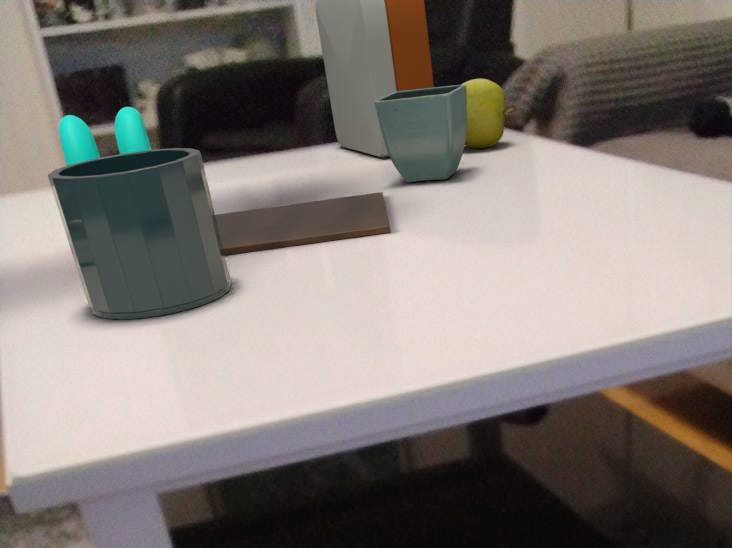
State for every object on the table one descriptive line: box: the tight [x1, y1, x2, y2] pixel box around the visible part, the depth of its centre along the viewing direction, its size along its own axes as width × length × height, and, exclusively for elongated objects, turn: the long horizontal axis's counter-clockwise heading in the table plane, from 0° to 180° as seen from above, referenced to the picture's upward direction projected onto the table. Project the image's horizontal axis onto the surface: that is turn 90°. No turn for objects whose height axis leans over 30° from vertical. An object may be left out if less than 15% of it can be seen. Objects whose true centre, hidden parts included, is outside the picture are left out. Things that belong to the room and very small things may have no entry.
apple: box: [460, 78, 515, 149], centre depth 131 cm, size 8×9×8 cm
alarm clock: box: [315, 0, 435, 159], centre depth 137 cm, size 18×9×21 cm, turn 26°
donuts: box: [58, 106, 152, 166], centre depth 128 cm, size 10×10×10 cm
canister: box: [47, 147, 232, 320], centre depth 83 cm, size 12×12×10 cm
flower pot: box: [374, 84, 467, 183], centre depth 117 cm, size 9×9×9 cm
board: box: [215, 191, 391, 256], centre depth 104 cm, size 20×18×1 cm
